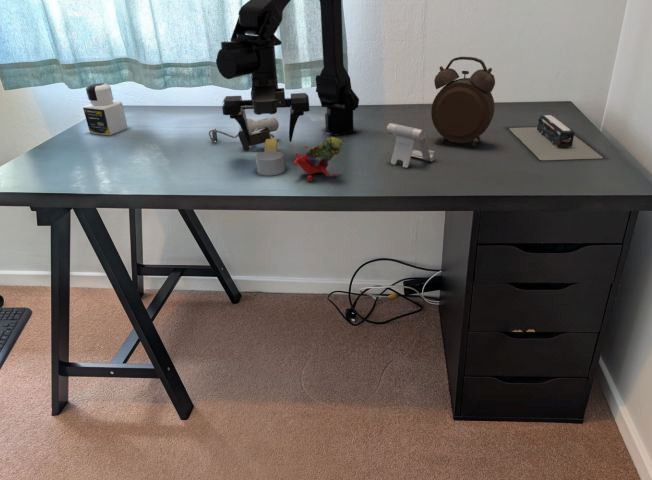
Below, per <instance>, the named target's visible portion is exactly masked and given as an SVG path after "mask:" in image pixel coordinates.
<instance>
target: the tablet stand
mask: <svg viewBox="0 0 652 480" xmlns="http://www.w3.org/2000/svg"><path fill="white" fill-rule="evenodd" d="M386 132H387V133H388V134H392V135H394V139H395V144H394V148H393V151H392V155H391V159H390V164H391V165H393V166H396V165H397V164H398V163H397V162H398V161H402V168H405V169H408V168H409V167H410V166H409V165H410V161H411V160H412V158H414V159H418V160H422V161H426V162H432V163H433V162H434V160H435V158H436V156H435V155H436V152H435V150H430V149H429V145H428V141H427V137H426V131H425V130H424V129H421V128H416V127H411V126H406V125H401V124H398V123H393V122H389V123H388V124H387V127H386ZM416 140H417V141H418V143H419V147H420V150H418V149H417V150H416V149H415V143H416Z"/></svg>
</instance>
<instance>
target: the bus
mask: <svg viewBox="0 0 652 480" xmlns="http://www.w3.org/2000/svg"><path fill="white" fill-rule="evenodd" d="M508 130H510V131H511V132H512V134H514V135H515V137H517V138H518V139H519V140H520V141H521V142H522V143H523V144H524V146H526V147H527V148H528V149H529V150H530V151H531V152H532V153H533V155H535V156H536V157H537V158H538V160H540V161H561V160H562V161H563V160H565V161H566V160H593V159H594V160H595V159H604V157H603V156H602V155H601V154H599V153H598V152H596V150H594V149H593V148H591V147H590V146H589V145H587V144H586V143H585V142H584V141H582V140H581V139H580V138H579V137H577V136H576V135H575V131H574V130H572V129H571V128H570V127H569V126H567V125H566V124H564V123H563V122H562V121H560V120H559V119H558V118H557V117H555V116H554V115H553V114H546V115H544V114H543V115H539V118H538V123H537V126H533V127H532V126H531V127H508Z"/></svg>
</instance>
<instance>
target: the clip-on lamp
mask: <svg viewBox="0 0 652 480" xmlns="http://www.w3.org/2000/svg"><path fill="white" fill-rule="evenodd" d="M247 123H248V127H249V132H250V139H251V144H249V143H248V141H247V139H246V137H245V134H244V132H243V130H242V128H241V126H240V125H239V126H238V133H236V135H231V134H229V133H226V132H223V131H221V130H217V128H215V127H214V128H213V129H210V130H209V131H208V137H209V139H210V140H211V142H212V143H213V144H216V143H217V142H218V133H219V134H222V135H224V136H226V137H228V138H229V137H230V138H232V139H236V138H239V141H240V144H241V146H242V149H243V151H245V152H247V151H249V150H250V147H253V146H256V145H260V144H264V143H265V142H266V139H275V135H274V134H273V132H276V131H278V129H279V126H280V123H279V121H278V119H277V118H276V117H273V116H272V117H267V118H261V119H257V120H256V119H255V120H254V119H252V118H247Z"/></svg>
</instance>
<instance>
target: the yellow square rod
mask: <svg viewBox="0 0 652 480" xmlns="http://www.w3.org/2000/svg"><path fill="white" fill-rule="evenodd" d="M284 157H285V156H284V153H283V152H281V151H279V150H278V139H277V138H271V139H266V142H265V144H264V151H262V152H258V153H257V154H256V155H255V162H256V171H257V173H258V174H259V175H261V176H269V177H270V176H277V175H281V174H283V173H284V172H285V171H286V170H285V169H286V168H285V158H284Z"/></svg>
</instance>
